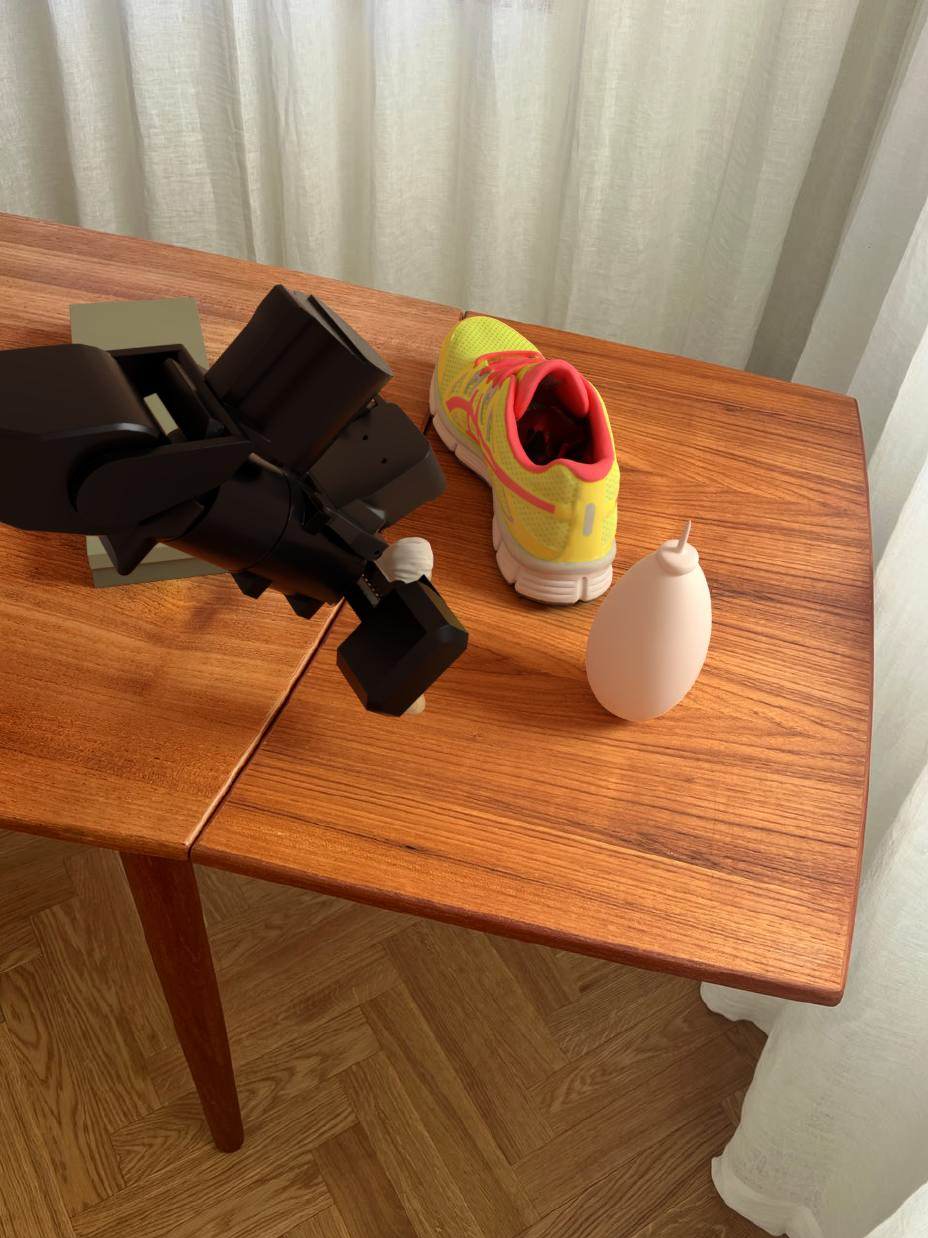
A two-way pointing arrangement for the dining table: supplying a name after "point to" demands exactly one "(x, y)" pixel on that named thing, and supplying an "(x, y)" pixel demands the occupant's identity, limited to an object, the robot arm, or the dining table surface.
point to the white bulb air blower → (651, 633)
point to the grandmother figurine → (408, 575)
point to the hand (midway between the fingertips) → (422, 599)
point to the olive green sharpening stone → (142, 329)
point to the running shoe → (532, 458)
